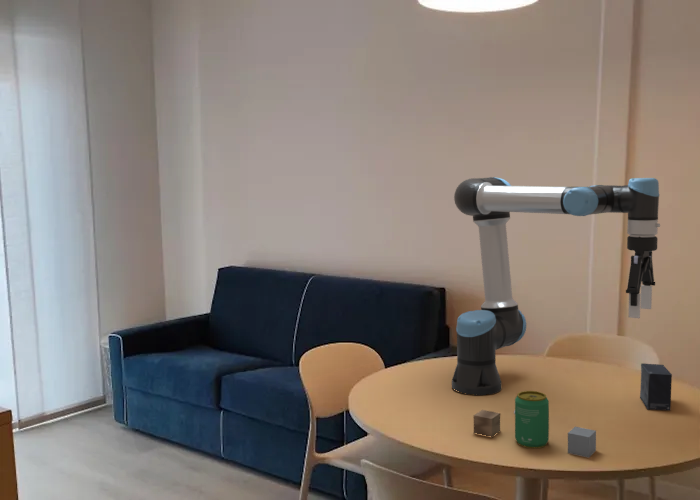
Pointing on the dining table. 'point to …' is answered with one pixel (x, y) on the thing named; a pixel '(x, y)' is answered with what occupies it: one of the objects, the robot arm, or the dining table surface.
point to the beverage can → (531, 419)
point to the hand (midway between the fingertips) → (640, 313)
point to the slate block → (582, 442)
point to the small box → (655, 387)
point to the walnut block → (487, 423)
